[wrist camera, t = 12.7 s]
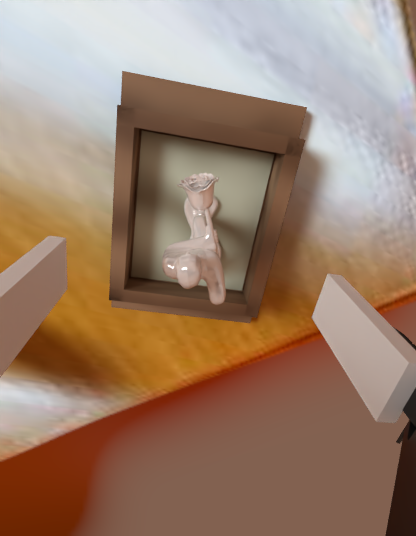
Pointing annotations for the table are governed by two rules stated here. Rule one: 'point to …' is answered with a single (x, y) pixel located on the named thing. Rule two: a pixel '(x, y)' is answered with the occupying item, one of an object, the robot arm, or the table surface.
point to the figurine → (198, 241)
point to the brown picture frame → (173, 197)
